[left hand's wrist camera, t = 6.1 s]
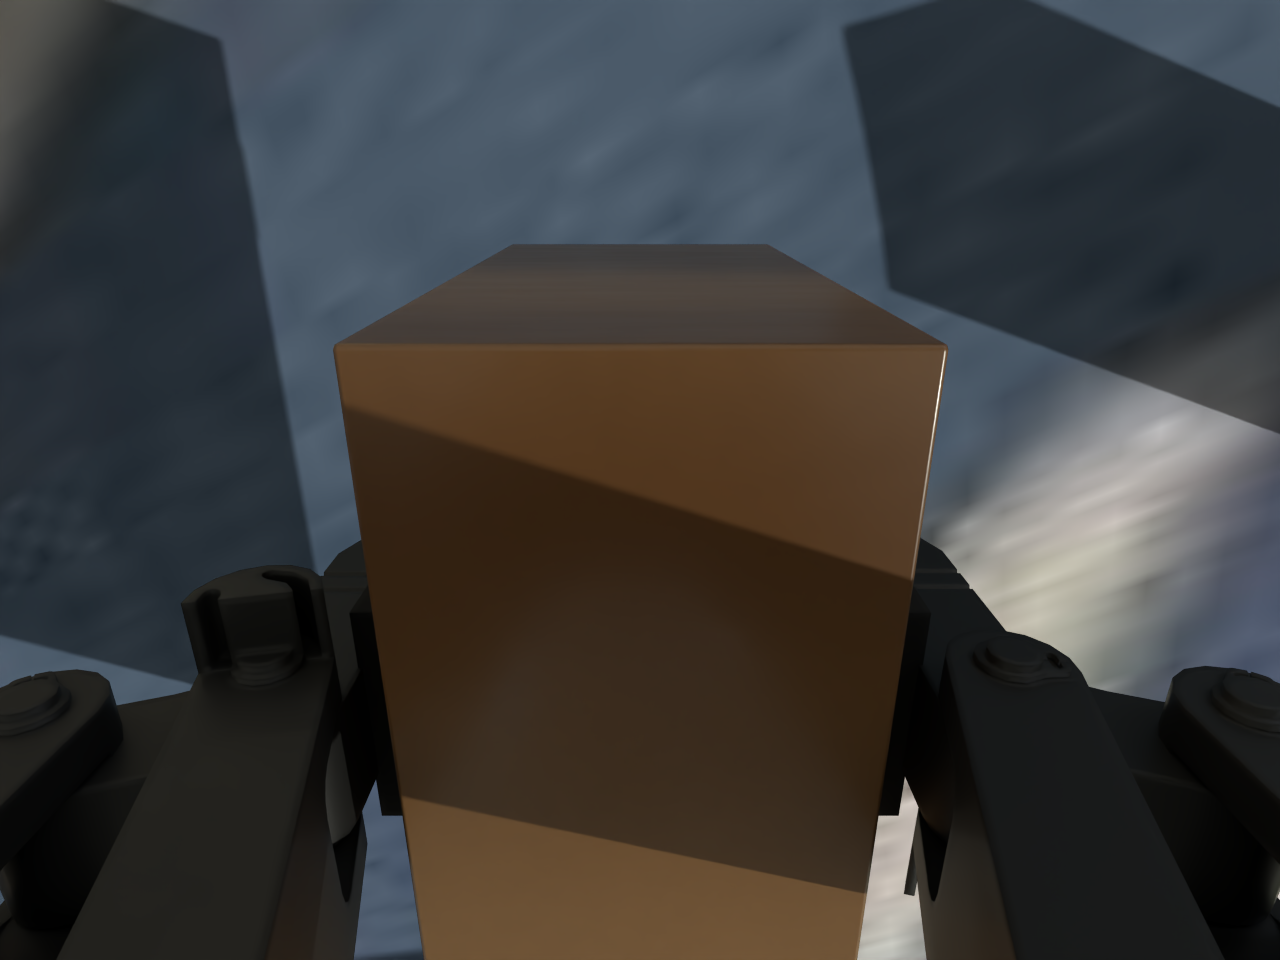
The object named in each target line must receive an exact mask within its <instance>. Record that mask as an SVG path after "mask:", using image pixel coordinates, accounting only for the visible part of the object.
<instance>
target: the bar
mask: <svg viewBox="0 0 1280 960" xmlns="http://www.w3.org/2000/svg"><path fill="white" fill-rule="evenodd" d="M333 352H334V359H335V366H336V372H337V379H338V386H339V393H340V399H341V406H342V413H343V419H344V426H345V433H346V440H347V446H348V453H349V460H350V466H351V473H352V480H353V487H354V493H355V500H356V507H357V513H358V520H359V527H360V534H361V540H362V547H363V554H364V560H365V567H366V574H367V581H368V587H369V594H370V601H371V607H372V614H373V621H374V628H375V634H376V641H377V648H378V654H379V661H380V668H381V675H382V681H383V688H384V695H385V701H386V708H387V715H388V722H389V728H390V735H391V742H392V748H393V755H394V762H395V769H396V775H397V782H398V789H399V795H400V802H401V809H402V816H403V822H404V829H405V836H406V842H407V849H408V856H409V863H410V869H411V876H412V883H413V889H414V896H415V903H416V910H417V916H418V923H419V930H420V936H421V943H422V950H423V957H424V960H857V956H858V949H859V943H860V936H861V929H862V923H863V916H864V909H865V903H866V896H867V889H868V883H869V876H870V869H871V862H872V856H873V849H874V842H875V836H876V829H877V822H878V816H879V809H880V802H881V796H882V789H883V782H884V776H885V769H886V762H887V756H888V749H889V742H890V736H891V729H892V722H893V716H894V709H895V702H896V696H897V689H898V682H899V675H900V669H901V662H902V655H903V649H904V642H905V635H906V629H907V622H908V615H909V609H910V602H911V595H912V589H913V582H914V575H915V569H916V562H917V555H918V549H919V542H920V535H921V529H922V522H923V515H924V508H925V502H926V495H927V488H928V482H929V475H930V468H931V462H932V455H933V448H934V442H935V435H936V428H937V422H938V415H939V408H940V402H941V395H942V388H943V382H944V375H945V368H946V362H947V355H948V347H947V345H946V344H944V343H943V342H941V341H939V340H937V339H936V338H934V337H932V336H930V335H928V334H927V333H925V332H923V331H921V330H919V329H918V328H916V327H914V326H912V325H911V324H909V323H907V322H905V321H903V320H902V319H900V318H898V317H896V316H894V315H893V314H891V313H889V312H887V311H886V310H884V309H882V308H880V307H878V306H877V305H875V304H873V303H871V302H869V301H868V300H866V299H864V298H862V297H861V296H859V295H857V294H855V293H853V292H852V291H850V290H848V289H846V288H844V287H843V286H841V285H839V284H837V283H836V282H834V281H832V280H830V279H828V278H827V277H825V276H823V275H821V274H819V273H818V272H816V271H814V270H812V269H811V268H809V267H807V266H805V265H803V264H802V263H800V262H798V261H796V260H794V259H793V258H791V257H789V256H787V255H786V254H784V253H782V252H780V251H778V250H777V249H775V248H773V247H771V246H769V245H767V244H513V245H511V246H509V247H507V248H505V249H504V250H502V251H500V252H498V253H497V254H495V255H493V256H491V257H489V258H488V259H486V260H484V261H482V262H481V263H479V264H477V265H475V266H474V267H472V268H470V269H468V270H466V271H465V272H463V273H461V274H459V275H458V276H456V277H454V278H452V279H450V280H449V281H447V282H445V283H443V284H442V285H440V286H438V287H436V288H435V289H433V290H431V291H429V292H427V293H426V294H424V295H422V296H420V297H419V298H417V299H415V300H413V301H411V302H410V303H408V304H406V305H404V306H403V307H401V308H399V309H397V310H395V311H394V312H392V313H390V314H388V315H387V316H385V317H383V318H381V319H380V320H378V321H376V322H374V323H372V324H371V325H369V326H367V327H365V328H364V329H362V330H360V331H358V332H356V333H355V334H353V335H351V336H349V337H348V338H346V339H344V340H342V341H340V342H339V343H337V344H335V345H334V349H333Z"/></svg>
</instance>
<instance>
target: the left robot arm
mask: <svg viewBox="0 0 1280 960" xmlns="http://www.w3.org/2000/svg"><path fill="white" fill-rule="evenodd" d="M181 606H182V610H183V614H184V618H185V622H186V626H187V630H188V634H189V638H190V642H191V645H192V649H193V653H194V657H195V661H196V665H197V669H198V673H199V674H198V676H197V678H196V680H195V682H194V684H193V686H192V688H191V690H190V691H187V692H183V693H179V694H175V695H170V696H164V697H159V698H154V699H149V700H143V701H138V702H133V703H128V704H122V705H116V702H115V699H114V695H113V692H112V689H111V686H110V682H109V681H108V680H107V679H106V678H104V677H103V676H102V675H100V674H99V673H97V672H91V671H84V670H77V669H76V670H66V671H56V672H52V671H51V672H44V673H39V674H35V675H34V676H33V677H31V675H30V676H27V677H24V678H21V679H17V680H15V681H13V682H11V683H10V684H9V685H6V686H4V687H1V688H0V890H1V893H2V895H3V897H4V900H5V901H4V902H3V903H2V904H1V905H0V960H354V952H355V943H356V935H357V927H358V918H359V910H360V901H361V893H362V885H363V876H364V868H365V860H366V851H367V838H366V832H365V825H364V820H363V814H362V810H363V808H364V805H365V803H366V801H367V799H368V796H369V794H370V792H371V789H372V787H373V785H374V782H375V780H376V782H377V788H378V794H379V800H380V806H381V813H382V816H402V809H401V802H400V795H399V789H398V782H397V775H396V769H395V762H394V755H393V748H392V742H391V735H390V728H389V722H388V715H387V708H386V701H385V695H384V688H383V681H382V675H381V668H380V661H379V654H378V648H377V641H376V634H375V628H374V621H373V614H372V607H371V601H370V594H369V587H368V581H367V574H366V567H365V560H364V554H363V547H362V540H360V541H359V542H357V543H355V544H354V545H352V546H350V547H349V548H347V549H346V550H344V551H342V552H341V553H339V554H338V555H337V556H336V558H335V559H334V560H333V561H332V563H331V564H330V565H329V567H328V568H327V569H326V570H325V572H324V576H321V577H320V576H319V575H318V574H316V573H315V572H313V571H312V570H311V569H307V568H302V567H298V566H293V565H267V566H261V567H256V568H250V569H245V570H240V571H237V572H234V573H231V574H228V575H225V576H222V577H219V578H216V579H214V580H212V581H210V582H208V583H207V584H205V585H203V586H201V587H199V588H198V589H196V590H194V591H193V592H192V593H191V594H190V595H189V596H188V597H187V598H186V599H185V600H184V601H183V602H182V603H181ZM905 777H906V780H907V782H908V784H909V787H910V789H911V791H912V793H913V796H914V798H915V800H916V803H917V805H918V807H919V808H918V814H917V820H916V825H915V831H914V837H913V843H912V848H911V854H910V860H909V866H908V871H907V877H906V884H905V890H904V894H907V895H912V896H914V895H915V890H916V884H917V883H918V891H919V900H920V908H921V916H922V925H923V933H924V941H925V950H926V958H927V960H1280V900H1279V899H1278V898H1277V897H1278V894H1279V892H1280V683H1277V682H1275V681H1273V680H1272V679H1270V678H1269V677H1266V676H1263V675H1260V674H1257V673H1254V672H1251V673H1248V672H1247V671H1246V670H1241V669H1236V668H1221V667H1211V666H1201V667H1195V668H1188V669H1184V670H1182V671H1181V672H1180V673H1178V674H1177V675H1176V676H1174V677H1173V678H1172V681H1171V685H1170V688H1169V691H1168V694H1167V698H1166V701H1165V702H1161V701H1156V700H1150V699H1145V698H1140V697H1134V696H1129V695H1124V694H1119V693H1113V692H1108V691H1104V690H1100V689H1096V688H1092V687H1089V686H1088V684H1087V682H1086V680H1085V678H1084V676H1083V674H1082V672H1081V671H1080V670H1079V669H1078V668H1077V666H1076V665H1075V664H1074V663H1073V662H1072V660H1071V659H1070V658H1069V657H1067V656H1066V655H1064V654H1063V653H1061V652H1060V651H1058V650H1057V649H1055V648H1053V647H1052V646H1050V645H1048V644H1046V643H1043V642H1041V641H1038V640H1036V639H1033V638H1031V637H1028V636H1026V635H1022V634H1017V633H1012V632H1007V631H1006V630H1005V629H1004V628H1003V627H1002V625H1001V624H1000V623H999V622H998V620H997V619H996V618H995V617H994V615H993V614H992V613H991V612H990V610H989V609H988V608H987V607H986V605H985V604H984V603H983V602H982V600H981V599H980V598H979V597H978V595H977V594H976V593H975V592H974V590H973V589H969V584H968V583H967V581H966V580H965V579H964V578H963V576H962V575H961V574H960V573H957V569H956V568H955V566H954V565H953V564H952V563H951V561H950V560H949V559H948V558H947V556H946V555H945V554H944V553H943V551H941V550H940V549H938V548H936V547H935V546H933V545H931V544H930V543H928V542H926V541H925V540H923V539H921V538H920V542H919V549H918V555H917V562H916V569H915V575H914V582H913V589H912V595H911V602H910V609H909V615H908V622H907V629H906V635H905V642H904V649H903V655H902V662H901V669H900V675H899V682H898V689H897V696H896V702H895V709H894V716H893V722H892V729H891V736H890V742H889V749H888V756H887V762H886V769H885V776H884V782H883V789H882V796H881V802H880V809H879V816H899V810H900V803H901V797H902V791H903V785H904V779H905Z"/></svg>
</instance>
